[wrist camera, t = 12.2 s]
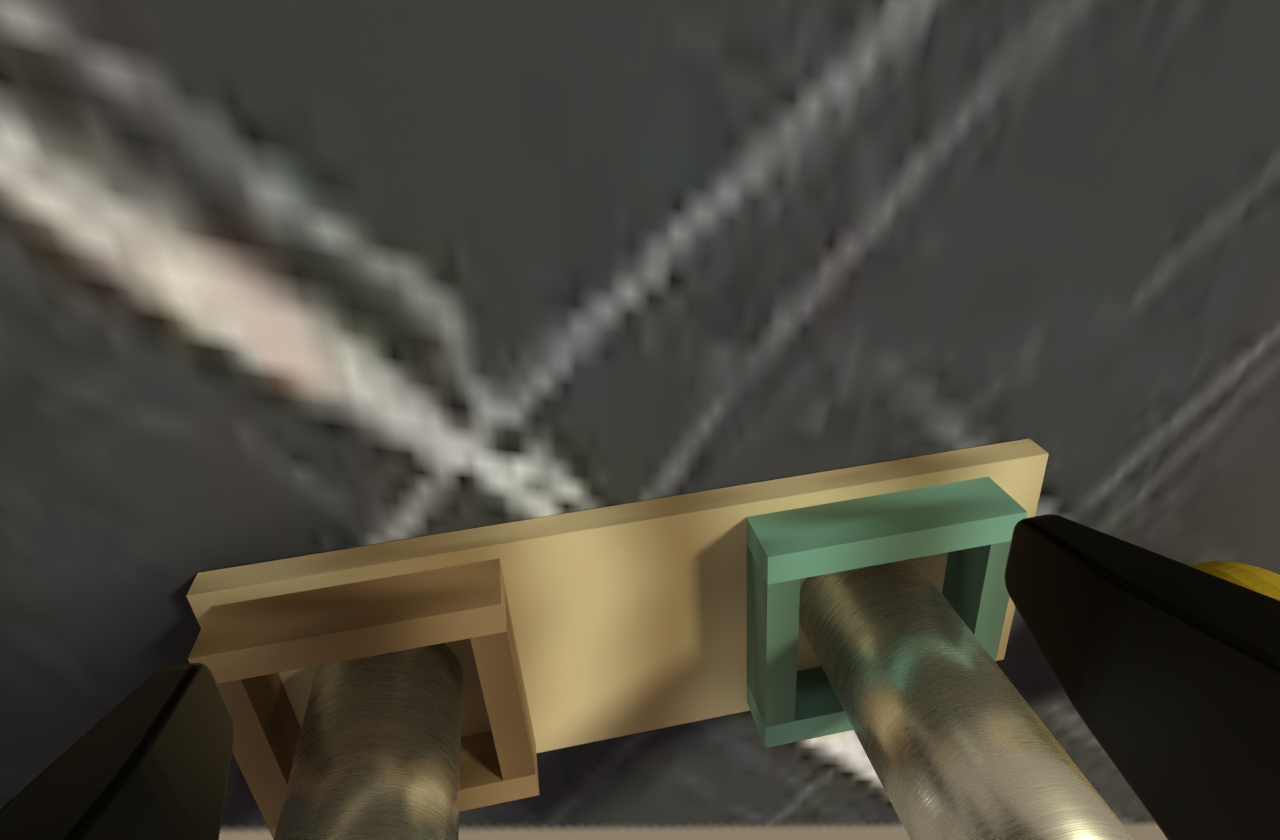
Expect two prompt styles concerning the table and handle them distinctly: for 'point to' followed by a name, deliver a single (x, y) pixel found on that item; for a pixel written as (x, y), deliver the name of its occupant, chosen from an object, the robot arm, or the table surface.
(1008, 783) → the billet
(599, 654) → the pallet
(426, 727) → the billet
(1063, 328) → the table surface
